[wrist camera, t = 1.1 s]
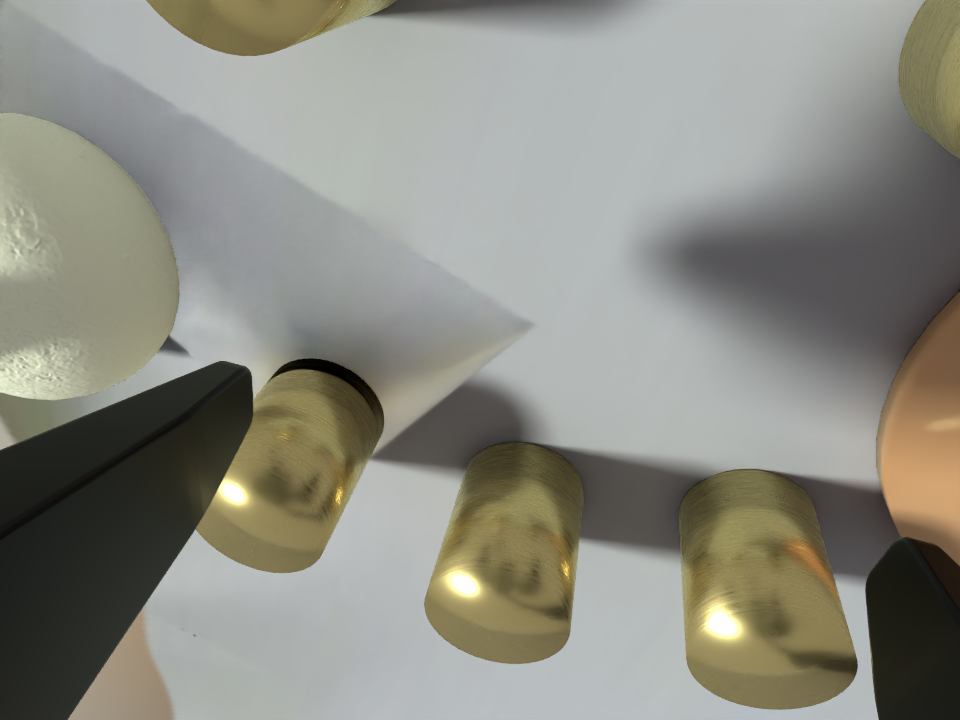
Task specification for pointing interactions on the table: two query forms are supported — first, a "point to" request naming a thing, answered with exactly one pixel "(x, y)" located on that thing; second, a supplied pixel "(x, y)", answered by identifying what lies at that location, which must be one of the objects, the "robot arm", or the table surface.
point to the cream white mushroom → (76, 266)
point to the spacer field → (549, 466)
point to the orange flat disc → (925, 437)
